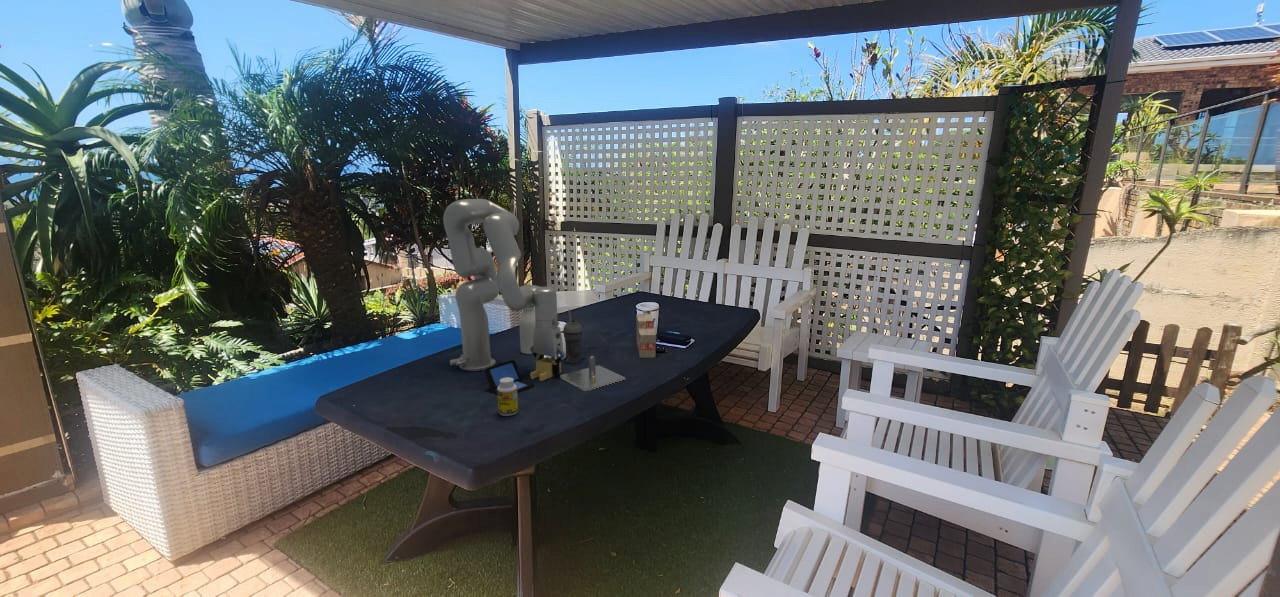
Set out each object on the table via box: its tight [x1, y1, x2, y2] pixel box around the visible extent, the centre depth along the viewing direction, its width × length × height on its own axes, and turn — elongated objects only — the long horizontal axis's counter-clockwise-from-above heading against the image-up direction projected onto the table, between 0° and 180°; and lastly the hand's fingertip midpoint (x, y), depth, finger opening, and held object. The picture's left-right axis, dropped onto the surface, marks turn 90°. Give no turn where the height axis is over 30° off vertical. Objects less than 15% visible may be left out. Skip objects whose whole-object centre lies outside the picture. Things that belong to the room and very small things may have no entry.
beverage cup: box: [562, 309, 583, 364], centre depth 197 cm, size 7×7×20 cm
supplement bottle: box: [496, 377, 519, 417], centre depth 154 cm, size 6×6×10 cm
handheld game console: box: [483, 359, 536, 395], centre depth 173 cm, size 12×11×7 cm
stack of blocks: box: [635, 313, 657, 359], centre depth 212 cm, size 21×6×12 cm, turn 4°
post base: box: [559, 355, 626, 393], centre depth 180 cm, size 16×16×8 cm
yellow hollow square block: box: [529, 356, 562, 382], centre depth 184 cm, size 10×6×5 cm, turn 149°
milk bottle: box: [519, 305, 536, 355], centre depth 209 cm, size 8×8×20 cm
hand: (548, 372), depth 186 cm, fingers closed on yellow hollow square block, 6 cm apart
